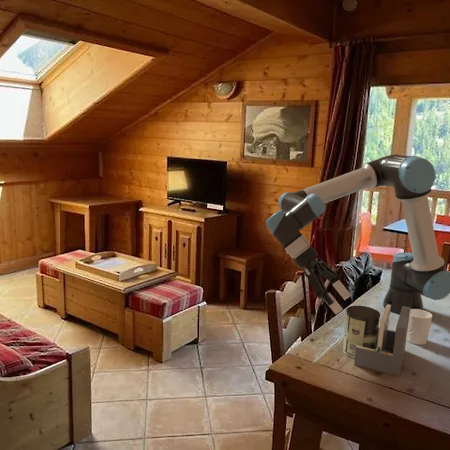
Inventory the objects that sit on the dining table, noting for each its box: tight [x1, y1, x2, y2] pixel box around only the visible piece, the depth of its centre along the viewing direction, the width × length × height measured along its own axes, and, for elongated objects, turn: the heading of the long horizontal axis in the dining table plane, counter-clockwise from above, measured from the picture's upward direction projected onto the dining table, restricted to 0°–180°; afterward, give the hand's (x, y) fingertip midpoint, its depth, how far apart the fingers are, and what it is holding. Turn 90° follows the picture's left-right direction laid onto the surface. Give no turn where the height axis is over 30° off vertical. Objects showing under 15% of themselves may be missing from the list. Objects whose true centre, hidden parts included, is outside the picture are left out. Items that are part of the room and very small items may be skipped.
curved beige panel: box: [376, 304, 391, 352], centre depth 142 cm, size 1×18×14 cm, turn 154°
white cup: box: [406, 309, 433, 346], centre depth 156 cm, size 8×8×10 cm
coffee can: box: [342, 305, 381, 359], centre depth 146 cm, size 10×10×14 cm
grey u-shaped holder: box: [354, 306, 410, 377], centre depth 143 cm, size 13×18×15 cm
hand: (344, 304), depth 146 cm, fingers open, 13 cm apart
